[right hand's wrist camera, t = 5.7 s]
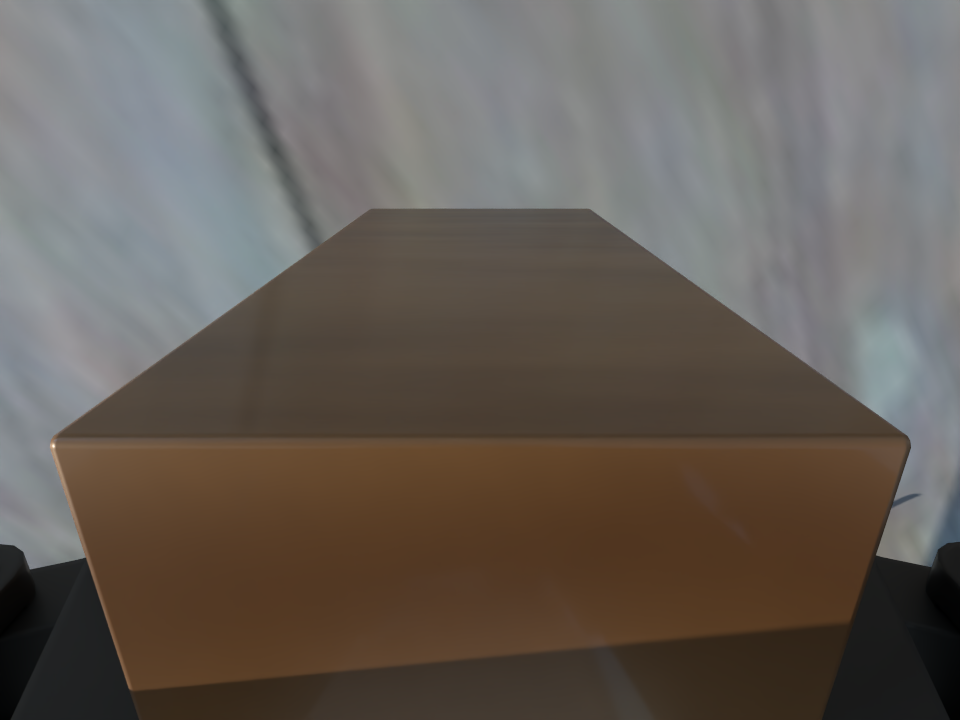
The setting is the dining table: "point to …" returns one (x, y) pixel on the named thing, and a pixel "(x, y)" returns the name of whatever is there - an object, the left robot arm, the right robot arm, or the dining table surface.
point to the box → (480, 491)
